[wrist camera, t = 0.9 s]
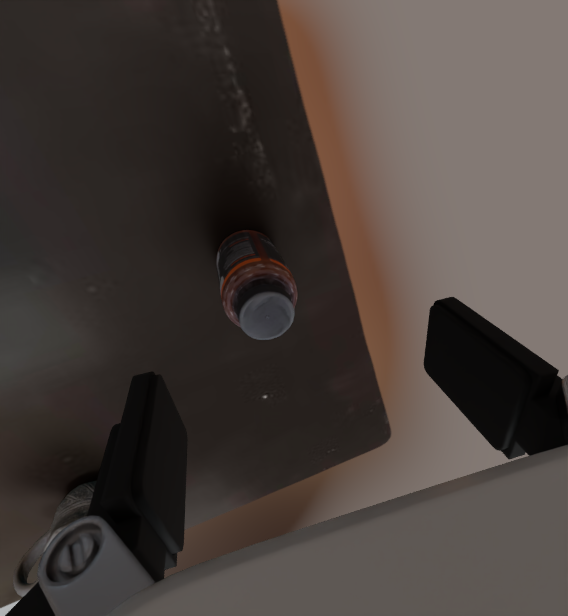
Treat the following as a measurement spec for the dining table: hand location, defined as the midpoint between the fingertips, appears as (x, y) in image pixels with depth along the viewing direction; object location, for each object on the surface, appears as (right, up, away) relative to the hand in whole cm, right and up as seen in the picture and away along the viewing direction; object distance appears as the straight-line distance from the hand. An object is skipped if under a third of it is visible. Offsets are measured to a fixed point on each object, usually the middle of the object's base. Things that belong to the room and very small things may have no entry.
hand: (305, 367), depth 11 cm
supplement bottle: (-4, +7, +21) cm, 23 cm away
